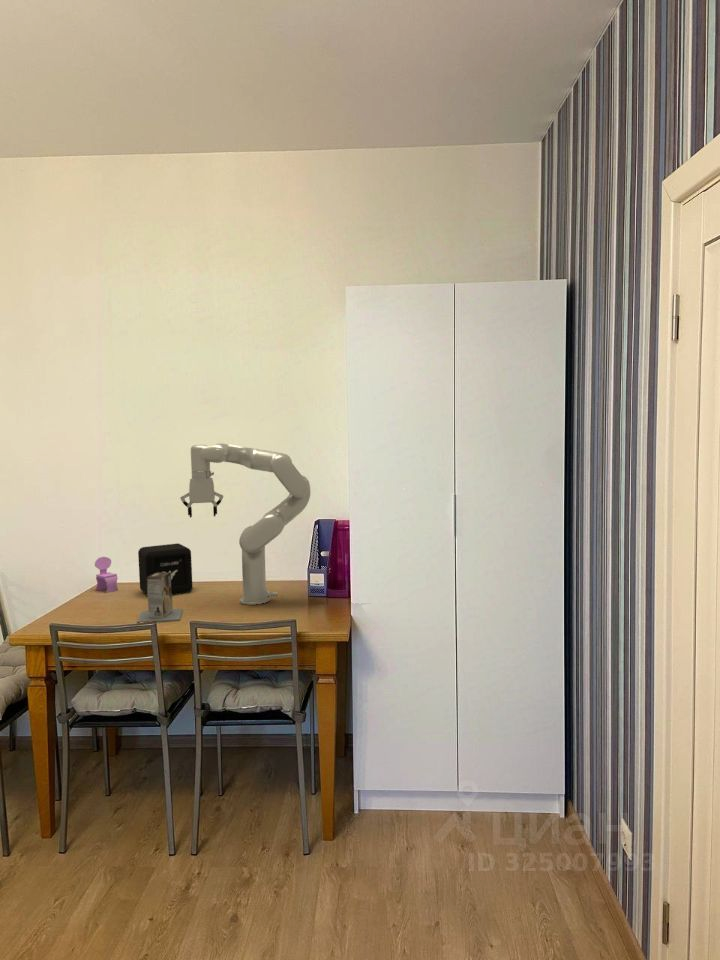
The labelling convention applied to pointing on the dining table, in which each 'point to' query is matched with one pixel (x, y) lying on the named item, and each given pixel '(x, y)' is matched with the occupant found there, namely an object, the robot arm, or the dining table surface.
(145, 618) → the slate mat
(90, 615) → the dining table surface
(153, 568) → the black rounded block
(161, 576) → the coffee box
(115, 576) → the toy chair
